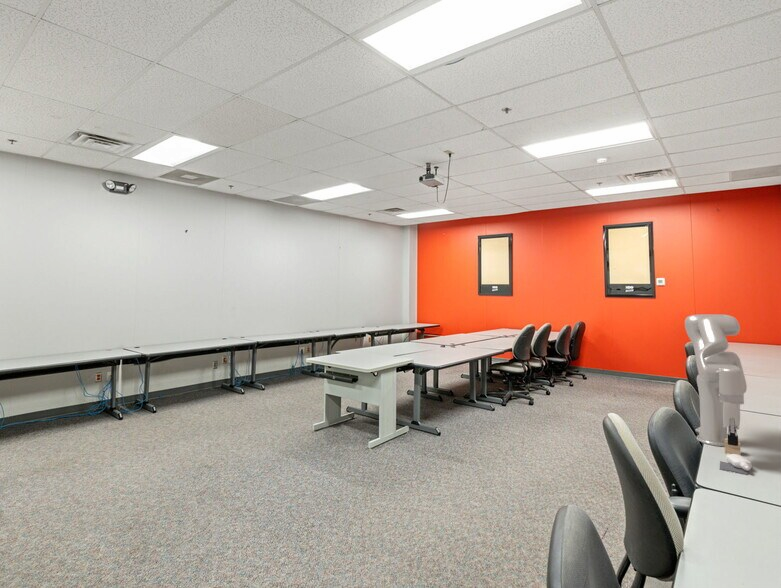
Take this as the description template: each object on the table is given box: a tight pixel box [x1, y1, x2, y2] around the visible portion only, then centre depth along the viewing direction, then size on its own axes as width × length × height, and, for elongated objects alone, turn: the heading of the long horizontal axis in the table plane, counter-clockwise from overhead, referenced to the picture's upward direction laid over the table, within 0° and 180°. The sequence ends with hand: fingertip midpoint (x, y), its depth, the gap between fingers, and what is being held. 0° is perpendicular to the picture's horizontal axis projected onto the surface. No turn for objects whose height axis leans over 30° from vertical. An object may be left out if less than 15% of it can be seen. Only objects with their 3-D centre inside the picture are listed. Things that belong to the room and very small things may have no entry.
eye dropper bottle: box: [725, 454, 753, 472], centre depth 156 cm, size 4×6×12 cm
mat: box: [719, 460, 748, 476], centre depth 156 cm, size 9×8×1 cm
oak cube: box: [724, 438, 741, 455], centre depth 172 cm, size 5×5×5 cm
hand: (733, 444), depth 163 cm, fingers closed
